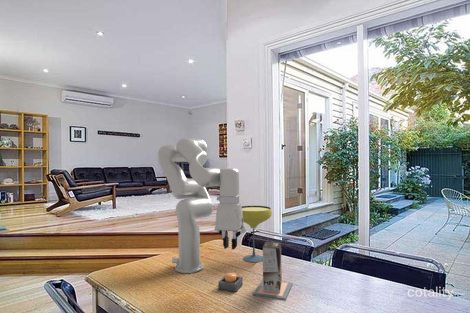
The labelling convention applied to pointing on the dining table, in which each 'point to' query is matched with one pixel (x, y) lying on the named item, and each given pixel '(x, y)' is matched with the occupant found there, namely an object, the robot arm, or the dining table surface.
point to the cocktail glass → (255, 224)
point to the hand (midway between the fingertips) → (230, 247)
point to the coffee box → (272, 267)
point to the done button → (230, 277)
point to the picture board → (282, 295)
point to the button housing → (230, 285)
